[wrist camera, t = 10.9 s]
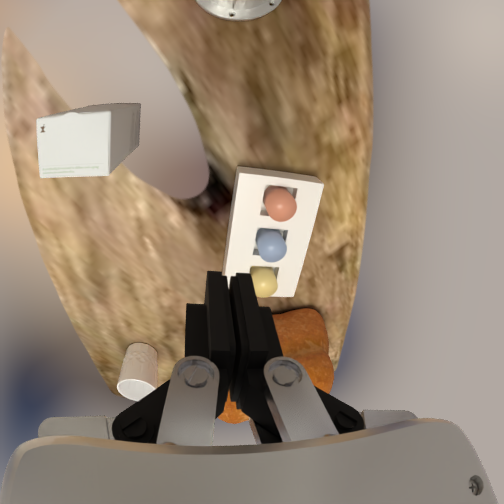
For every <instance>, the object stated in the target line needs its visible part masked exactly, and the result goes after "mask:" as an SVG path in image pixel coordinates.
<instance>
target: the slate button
mask: <svg viewBox="0 0 504 504" xmlns="http://www.w3.org/2000/svg"><path fill="white" fill-rule="evenodd" d="M255 241H256V244H257V248H258V251H259V254H260V257H261V258H262V259H263V260H264V261H266V262H271V263H272V262H277V261H279V260H281V259H282V258H283V257H284V256H285V255H286V252H287V246H286V243H285V241H284V239H283V237H282V235H281V233H280V231H279V229H270V228H260V229H259V230H258V231H257V233H256V239H255Z"/></svg>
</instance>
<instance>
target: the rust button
mask: <svg viewBox="0 0 504 504" xmlns="http://www.w3.org/2000/svg"><path fill="white" fill-rule="evenodd" d="M263 203H264V205H265V208H266V210H267V212H268V214H269V216H270V217H271V218H272V219H273V220H275V221H278V222H284V221H287V220H289V219H291V218H292V217H293V216H294V215H295V213H296V210H297V204H296V201H295V199H294V198H293V197H292V195H291V194H290V192H289V191H288V190H287V188H286V187H283V186H275V185H271V186H269V187H268V188H267V189H266V190H265V191H264V195H263Z"/></svg>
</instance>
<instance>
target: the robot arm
mask: <svg viewBox="0 0 504 504" xmlns="http://www.w3.org/2000/svg"><path fill="white" fill-rule="evenodd" d="M195 1H196V2H197V4H198V5H199V6H200V7H201V8H202V9H203V10H205V11H206V12H207V13H209V14H211V15H213V16H215V17H217V18H220V19H223V20H229V21H249V20H254V19H257V18H260V17H262V16H264V15H267V14H268V13H270V12H271V11H272V10H274V9H275V8H276V7H277V6H278V5H279V3H280V2H281V1H282V0H195ZM269 3H271V4H272V6H270V5H269ZM231 14H233V15H234V17H230V15H231ZM228 392H229V393H230V400H231V402H236V408H237V409H241V411H242V412H243V413H244V414H246V415H247V416H248V417H249V423H250V426H251V430H252V432H253V435H254V438H255V441H256V444H257V445H239V446H212V443H213V434H214V424H215V419H216V418H217V417H218V416H220V415H221V414H222V413H223V412H224V407H225V402H227V398H228ZM0 504H498V502H497V499H496V497H495V494H494V491H493V489H492V486H491V484H490V481H489V479H488V477H487V474H486V472H485V470H484V467H483V465H482V463H481V461H480V459H479V457H478V455H477V453H476V451H475V449H474V448H473V445H472V444H471V442H470V441H469V439H468V437H467V436H466V434H465V433H464V432H463V430H462V429H461V428H460V427H459V426H458V425H456V424H454V423H453V422H449V421H447V420H443V419H434V418H419V419H418V418H417V417H416V416H415V415H414V414H413V413H412V412H409V411H405V410H398V411H397V410H396V411H395V410H363V411H362V412H358V411H357V410H355V409H354V408H353V407H351V406H349V405H347V404H345V403H344V402H342V401H340V400H338V399H336V398H335V397H333V396H331V395H329V394H328V393H326V392H324V391H323V390H321V389H319V388H317V387H316V386H314V385H313V383H312V381H311V379H310V377H309V375H308V373H307V371H306V370H305V368H304V367H303V365H302V364H301V363H299V362H298V361H297V360H294V359H292V358H289V357H284V356H283V352H282V349H281V345H280V342H279V338H278V334H277V331H276V327H275V323H274V320H273V316H272V313H271V309H270V308H269V307H259V306H258V302H257V297H256V293H255V289H254V284H253V280H252V276H251V274H250V273H236V276H231V277H230V284H229V288H228V280H227V276H223V275H222V272H218V271H207V280H206V291H205V303H204V304H189V303H187V305H186V329H185V358H183V359H181V360H179V361H178V362H177V363H176V364H175V366H174V368H173V371H172V375H171V379H170V380H168V381H167V382H165V383H164V384H162V385H161V386H160V387H158V388H157V389H155V390H154V391H152V392H151V393H149V394H148V395H147V396H145V397H144V398H142V399H141V400H139V401H138V402H136V403H135V404H133V405H132V406H130V407H129V408H127V409H126V410H124V411H123V412H121V413H120V414H119V415H118V416H117V417H112V418H106V416H105V415H104V416H85V417H52V418H48V419H46V420H45V421H43V422H42V423H41V425H40V426H39V431H38V438H36V439H33V440H29V441H27V442H25V443H22V444H21V445H20V446H18V447H17V448H16V450H15V451H14V452H13V454H12V456H11V458H10V460H9V462H8V465H7V468H6V471H5V475H4V479H3V483H2V487H1V493H0Z"/></svg>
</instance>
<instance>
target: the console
mask: <svg viewBox="0 0 504 504" xmlns="http://www.w3.org/2000/svg"><path fill="white" fill-rule="evenodd" d="M271 185H275V186H283V187H286V188H287V190H288V191H289V192H290V194H291V195H292V197H293V198H294V199H295V201H296V204H297V210H296V213H295V215H294V216H293V217H292V218H291V219H289V220H287V221H284V222H278V221H275V220H273V219H272V218H271V217H270V216H269V214H268V212H267V210H266V208H265V205H264V203H263V195H264V191H265V190H266V189H267V188H268V187H269V186H271ZM323 186H324V183H322V182H321V181H320V180H319V179H318V178H317V177H315V176H309V175H302V174H296V173H289V172H281V171H274V170H266V169H258V168H250V167H241V166H237V170H236V177H235V184H234V191H233V198H232V205H231V212H230V219H229V226H228V234H227V241H226V249H225V256H224V264H223V272H222V275H223V276H227V280H228V288H229V284H230V277H231V276H236V273H249V271H250V268H251V267H252V266H265V267H272V269H273V271H274V274H275V277H276V280H277V283H278V288H277V291H276V292H275V293H274V294H273V295H271V296H277V297H294V293H295V290H296V286H297V283H298V279H299V276H300V273H301V269H302V266H303V262H304V258H305V255H306V251H307V248H308V244H309V240H310V237H311V233H312V229H313V225H314V222H315V218H316V214H317V210H318V206H319V202H320V198H321V194H322V190H323ZM260 228H270V229H279V231H280V233H281V235H282V237H283V239H284V241H285V243H286V246H287V252H286V255H285V256H284V257H283V258H282V259H281V260H279V261H277V262H272V263H271V262H266V261H264V260H263V259H262V258H261V257H260V254H259V251H258V248H257V244H256V241H255V239H256V233H257V231H258V230H259V229H260Z"/></svg>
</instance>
